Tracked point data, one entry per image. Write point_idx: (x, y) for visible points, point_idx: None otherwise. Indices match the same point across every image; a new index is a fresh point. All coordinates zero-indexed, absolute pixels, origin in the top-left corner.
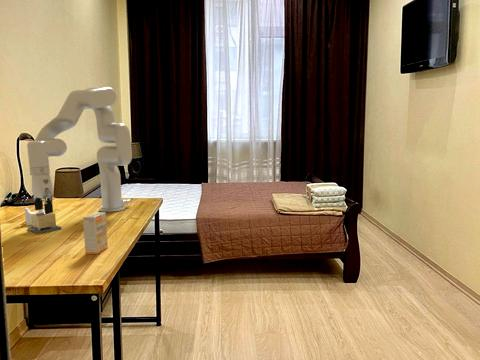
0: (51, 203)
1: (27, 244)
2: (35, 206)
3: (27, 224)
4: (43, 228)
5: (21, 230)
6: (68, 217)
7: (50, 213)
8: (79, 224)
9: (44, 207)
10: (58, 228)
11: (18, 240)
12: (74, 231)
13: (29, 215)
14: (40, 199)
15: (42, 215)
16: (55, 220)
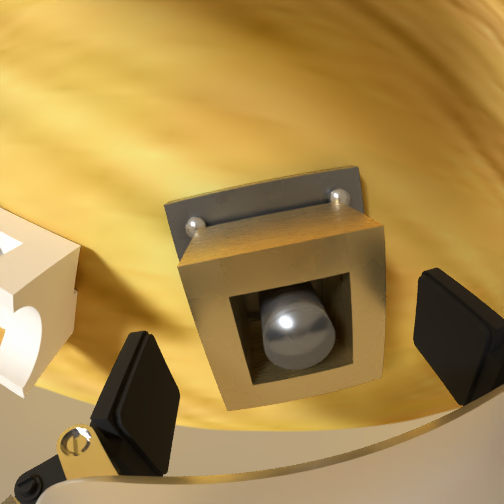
0: (500, 330)
1: None
2: (169, 426)
3: (72, 326)
4: (320, 288)
5: (205, 378)
6: (11, 69)
7: (329, 267)
8: (281, 17)
9: (449, 383)
10: (357, 188)
11: (407, 393)
12: (455, 126)
13: (46, 346)
14: (102, 440)
15: (366, 348)
16: (355, 211)
